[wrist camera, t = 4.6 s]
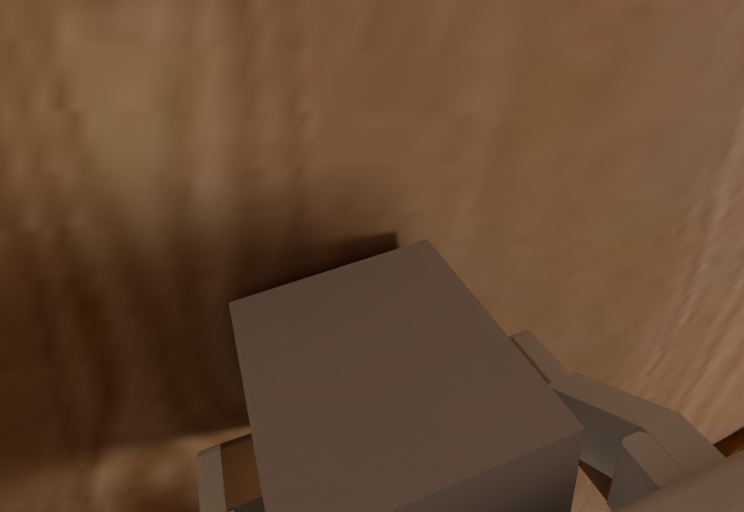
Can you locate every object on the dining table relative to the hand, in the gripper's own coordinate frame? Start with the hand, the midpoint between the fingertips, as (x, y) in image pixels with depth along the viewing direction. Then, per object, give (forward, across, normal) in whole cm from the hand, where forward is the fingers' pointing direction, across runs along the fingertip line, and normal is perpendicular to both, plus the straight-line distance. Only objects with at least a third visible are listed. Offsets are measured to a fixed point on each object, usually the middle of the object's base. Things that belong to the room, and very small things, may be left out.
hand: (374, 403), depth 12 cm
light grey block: (+2, 0, 0) cm, 2 cm away
